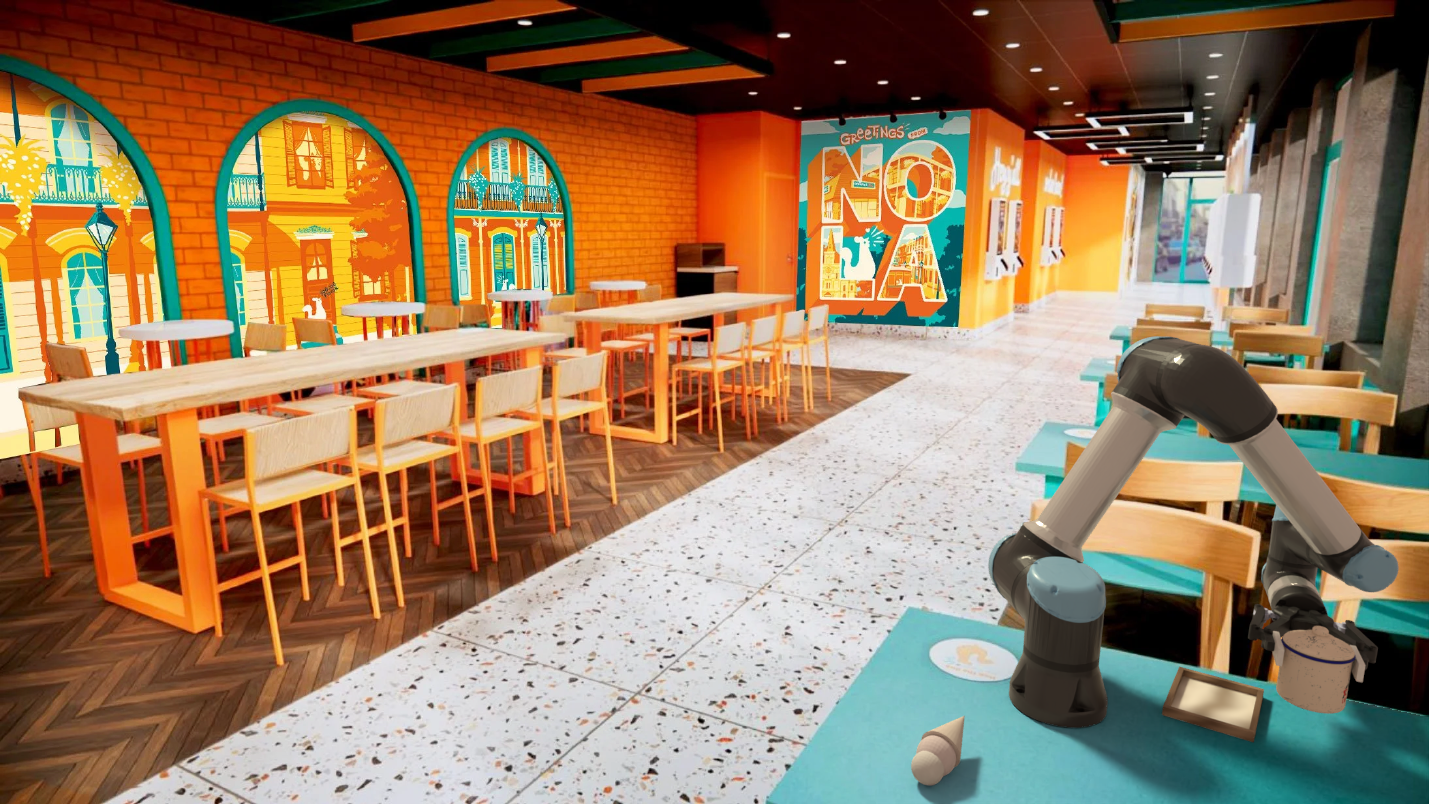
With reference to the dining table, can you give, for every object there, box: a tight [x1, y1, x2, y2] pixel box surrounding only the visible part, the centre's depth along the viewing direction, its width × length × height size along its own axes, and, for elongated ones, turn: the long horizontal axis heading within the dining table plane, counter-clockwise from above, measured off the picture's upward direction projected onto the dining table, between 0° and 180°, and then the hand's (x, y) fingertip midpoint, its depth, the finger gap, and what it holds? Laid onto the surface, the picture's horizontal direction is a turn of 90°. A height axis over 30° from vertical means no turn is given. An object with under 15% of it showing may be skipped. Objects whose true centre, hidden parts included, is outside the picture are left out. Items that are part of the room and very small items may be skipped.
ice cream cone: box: [910, 715, 966, 786], centre depth 123 cm, size 6×6×15 cm
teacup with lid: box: [1276, 626, 1356, 714], centre depth 128 cm, size 12×9×12 cm
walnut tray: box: [1161, 666, 1265, 743], centre depth 138 cm, size 13×16×2 cm
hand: (1319, 665), depth 124 cm, fingers closed on teacup with lid, 9 cm apart
